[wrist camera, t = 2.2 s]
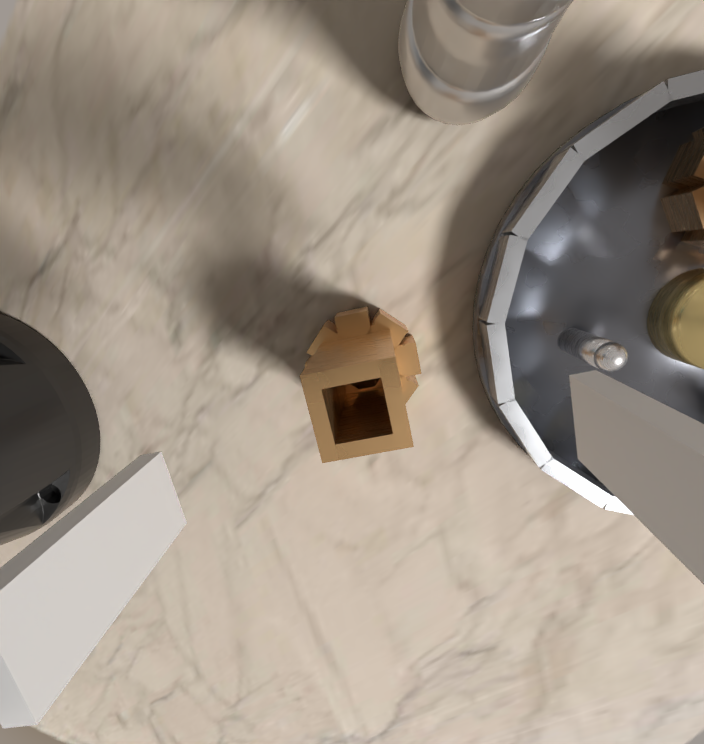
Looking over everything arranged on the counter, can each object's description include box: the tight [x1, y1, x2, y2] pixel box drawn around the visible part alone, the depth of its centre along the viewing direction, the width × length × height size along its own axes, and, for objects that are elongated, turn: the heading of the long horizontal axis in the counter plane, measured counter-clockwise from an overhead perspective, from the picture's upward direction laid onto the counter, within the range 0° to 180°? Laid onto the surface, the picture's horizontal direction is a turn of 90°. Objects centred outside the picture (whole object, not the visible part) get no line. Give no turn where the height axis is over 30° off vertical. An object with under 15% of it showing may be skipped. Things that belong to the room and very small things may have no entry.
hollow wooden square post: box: [300, 306, 421, 463], centre depth 21 cm, size 6×6×9 cm
